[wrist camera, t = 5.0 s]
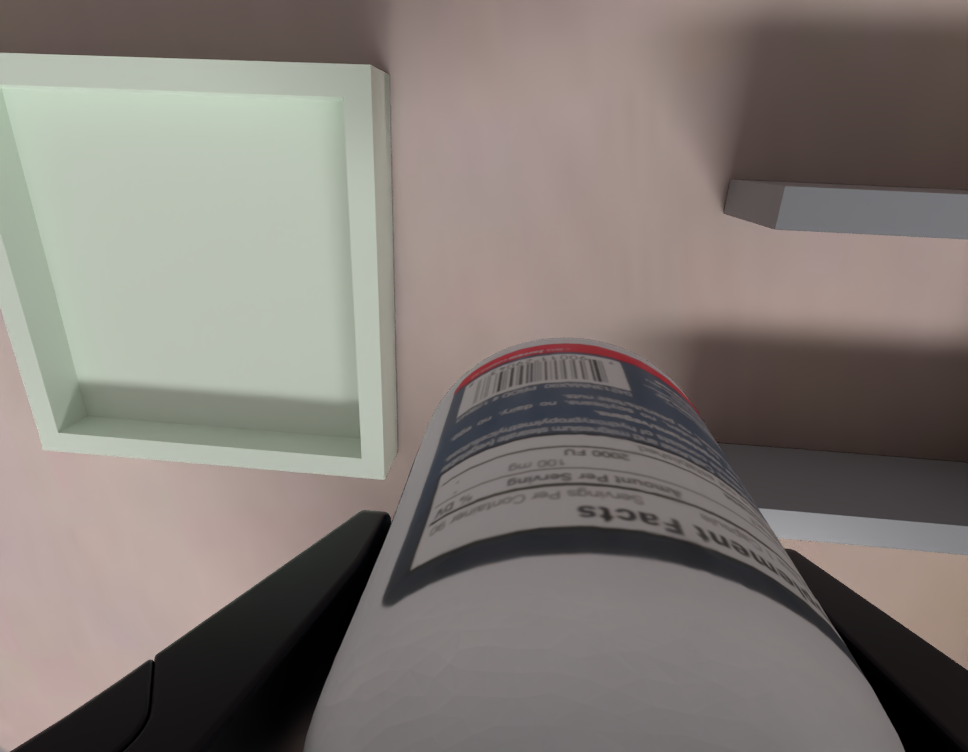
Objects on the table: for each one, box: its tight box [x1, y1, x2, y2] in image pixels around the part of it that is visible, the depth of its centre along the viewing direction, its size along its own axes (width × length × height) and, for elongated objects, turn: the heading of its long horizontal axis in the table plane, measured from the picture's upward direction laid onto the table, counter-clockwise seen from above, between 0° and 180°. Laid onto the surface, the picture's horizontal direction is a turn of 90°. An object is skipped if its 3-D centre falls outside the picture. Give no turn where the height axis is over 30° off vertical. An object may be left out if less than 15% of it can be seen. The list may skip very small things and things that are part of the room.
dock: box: [717, 179, 968, 555], centre depth 16 cm, size 10×12×4 cm
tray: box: [0, 53, 398, 480], centre depth 18 cm, size 13×13×2 cm
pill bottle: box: [303, 338, 905, 752], centre depth 6 cm, size 5×5×9 cm
